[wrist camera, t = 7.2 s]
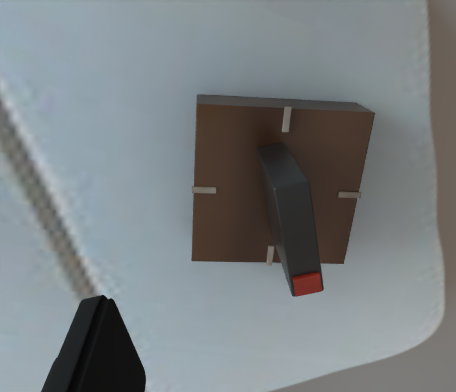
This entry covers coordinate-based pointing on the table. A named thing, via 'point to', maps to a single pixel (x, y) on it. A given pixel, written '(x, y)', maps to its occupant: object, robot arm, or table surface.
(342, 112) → the panel
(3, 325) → the table surface
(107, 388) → the robot arm
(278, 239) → the handle
